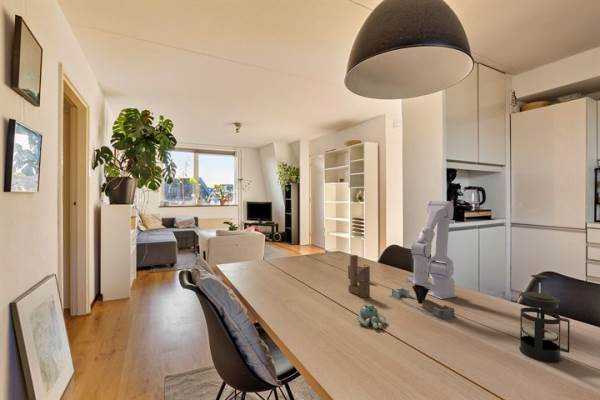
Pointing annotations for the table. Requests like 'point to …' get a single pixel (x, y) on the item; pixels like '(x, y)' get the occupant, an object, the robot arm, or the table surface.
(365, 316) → the stuffed animal
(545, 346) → the french press
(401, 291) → the cap
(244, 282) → the table surface
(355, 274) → the wooden block
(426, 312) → the track
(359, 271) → the architectural model on board
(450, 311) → the grey c-shaped bracket
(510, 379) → the table surface
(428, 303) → the brown bar
